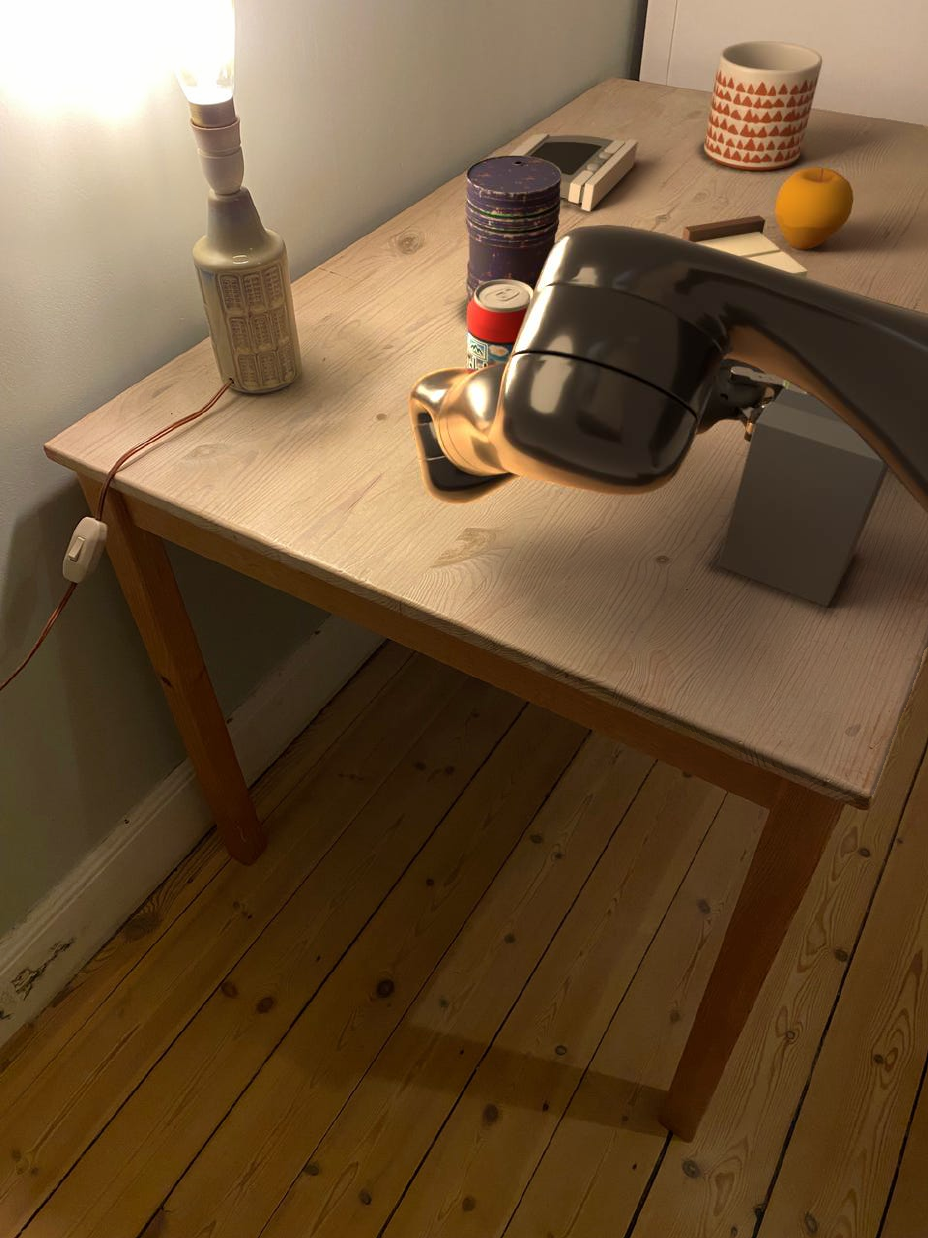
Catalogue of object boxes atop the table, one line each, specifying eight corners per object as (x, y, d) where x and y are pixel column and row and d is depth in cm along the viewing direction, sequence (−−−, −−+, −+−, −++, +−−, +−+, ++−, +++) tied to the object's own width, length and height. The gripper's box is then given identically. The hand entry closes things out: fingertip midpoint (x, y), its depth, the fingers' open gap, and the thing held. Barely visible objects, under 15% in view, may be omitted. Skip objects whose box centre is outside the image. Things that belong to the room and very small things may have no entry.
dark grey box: (851, 558, 75) (910, 414, 64) (827, 607, 71) (885, 462, 61) (745, 521, 78) (786, 377, 68) (717, 565, 74) (755, 421, 64)
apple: (853, 258, 111) (877, 181, 104) (783, 264, 110) (802, 187, 103) (822, 226, 117) (842, 152, 110) (755, 231, 116) (772, 157, 109)
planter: (739, 129, 140) (757, 34, 131) (817, 153, 133) (842, 54, 124) (684, 153, 134) (699, 55, 125) (763, 179, 127) (785, 77, 118)
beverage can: (453, 407, 90) (450, 293, 81) (501, 381, 93) (503, 268, 84) (502, 436, 87) (504, 320, 78) (550, 407, 90) (557, 293, 81)
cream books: (778, 395, 91) (816, 258, 81) (706, 409, 89) (735, 272, 79) (729, 346, 97) (759, 214, 87) (661, 359, 96) (683, 226, 85)
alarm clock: (594, 185, 118) (481, 154, 122) (588, 220, 122) (479, 189, 126) (638, 140, 129) (533, 113, 133) (631, 174, 132) (529, 146, 136)
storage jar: (547, 337, 99) (555, 197, 88) (458, 328, 100) (456, 189, 90) (559, 293, 106) (568, 157, 95) (475, 286, 107) (475, 151, 96)
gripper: (696, 406, 68) (883, 368, 71) (617, 315, 77) (785, 285, 81) (680, 485, 74) (854, 446, 77) (608, 391, 83) (766, 361, 86)
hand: (819, 364), depth 79 cm, fingers open, 8 cm apart
